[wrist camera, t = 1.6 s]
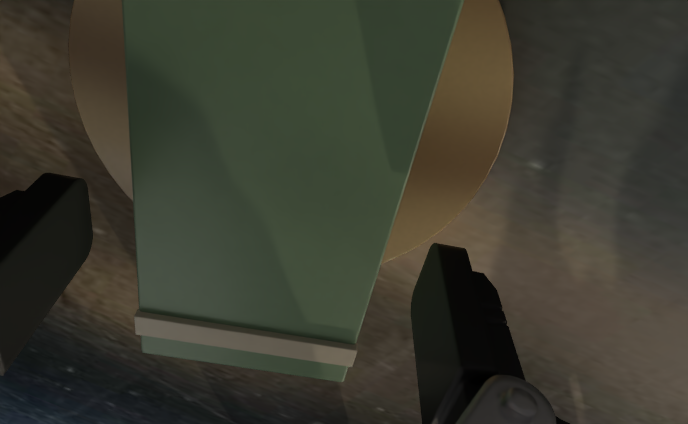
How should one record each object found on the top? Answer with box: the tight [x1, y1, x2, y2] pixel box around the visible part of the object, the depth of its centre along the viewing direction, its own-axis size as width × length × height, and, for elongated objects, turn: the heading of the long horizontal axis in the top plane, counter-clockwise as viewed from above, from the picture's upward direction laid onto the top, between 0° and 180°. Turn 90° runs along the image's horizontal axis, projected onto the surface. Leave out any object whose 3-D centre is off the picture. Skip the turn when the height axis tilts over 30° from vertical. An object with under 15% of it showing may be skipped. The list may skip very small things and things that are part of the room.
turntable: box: [68, 0, 514, 264], centre depth 18 cm, size 15×15×1 cm
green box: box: [122, 0, 464, 382], centre depth 15 cm, size 12×6×6 cm, turn 169°
